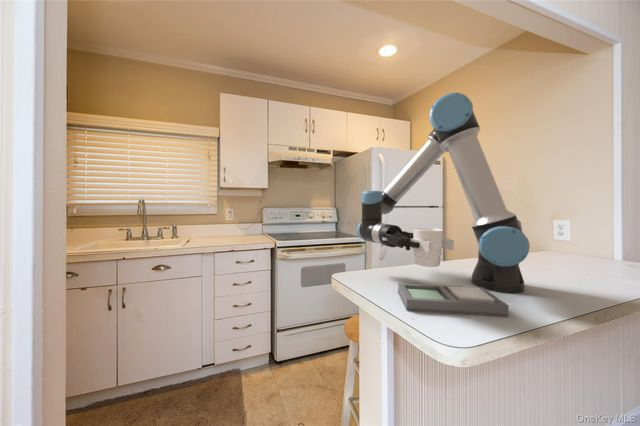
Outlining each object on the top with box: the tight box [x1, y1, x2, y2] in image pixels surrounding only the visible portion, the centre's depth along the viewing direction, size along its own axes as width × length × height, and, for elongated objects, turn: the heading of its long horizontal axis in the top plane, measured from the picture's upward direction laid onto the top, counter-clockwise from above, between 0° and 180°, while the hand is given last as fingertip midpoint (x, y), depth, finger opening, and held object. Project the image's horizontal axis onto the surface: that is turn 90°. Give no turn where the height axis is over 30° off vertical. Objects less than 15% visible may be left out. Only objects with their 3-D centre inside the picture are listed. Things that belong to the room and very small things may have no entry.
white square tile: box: [446, 285, 495, 302], centre depth 73 cm, size 9×9×1 cm
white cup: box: [412, 227, 444, 268], centre depth 73 cm, size 8×8×10 cm
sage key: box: [407, 289, 444, 299], centre depth 74 cm, size 9×9×1 cm
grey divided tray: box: [397, 282, 509, 318], centre depth 73 cm, size 25×13×3 cm, turn 83°
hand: (441, 246), depth 69 cm, fingers closed on white cup, 7 cm apart
